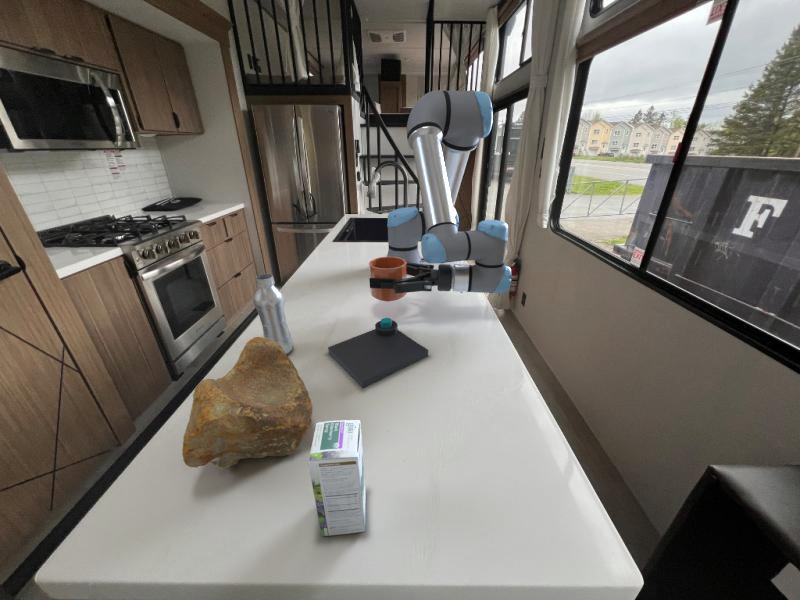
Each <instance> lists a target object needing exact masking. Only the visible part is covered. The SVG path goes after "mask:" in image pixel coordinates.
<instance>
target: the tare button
mask: <svg viewBox="0 0 800 600" xmlns="http://www.w3.org/2000/svg"><path fill="white" fill-rule="evenodd" d="M392 320H393V319H391V318H390V317H383V318H381V319H380V321H381V328H385V329H386V328H390V327H392Z"/></svg>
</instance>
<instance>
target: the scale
mask: <svg viewBox="0 0 800 600" xmlns="http://www.w3.org/2000/svg"><path fill="white" fill-rule="evenodd" d="M391 320H392V327H390V328H386V329H385V328H381V320H379V321H377V322H376V323H375V324H374V329H372V330H369V331H366V332H364V333H361V334H359V335H356V336H353V337H350V338H349V339H346V340H343V341H340V342H337V343H336V344H333V345H331V346H328V347H327V351H328V355H329V356H330V357H331V358H332V359H333V360H334V361H335V362H336V363H337V364H338V365H339V366H340V367H341V368H342V369H343V370H344V371H345V372H346V373H347V374H348V375H349V376H350V377H351V378H352V379H353V380H354V381H355V382H356V383H357V384H358V385H359V386H360V387H361V388H362V389H363V390H364V389H365V388H368V387H369V386H373V384H375V383H378V382H379V381H382V380H383V379H386V378H388V377H389V376H392V375H394V374H396V373H398V372H400V371H402V370H403V369H406V368H408V367H410V366H411V365H414V364H416V363H418V362H420V361H421V360H424V359H426V358H428V357H429V349H427V348H426V347H425V346H423V345H421V344H420V343H418V342H417V341H416V340H414V339H413V338H411V337H410V336H408V335H406V334H405V333H404V332H402V331H400V330H399V329H398V326H399V325H398V323H397V322H396V321H395V320H393V319H391Z"/></svg>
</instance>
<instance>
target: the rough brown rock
mask: <svg viewBox="0 0 800 600" xmlns="http://www.w3.org/2000/svg"><path fill="white" fill-rule="evenodd" d="M299 374H300V373H299V372H298V370H297V368H296V366H295V364H294V363H293V361H292V360H291V358H289V356H288V355H287V354H286V353H285V352H284V350H283V349H282V347H281V346H280V345H279V344H278V343H277V342H274V341H272V340H270V339H269V338H264V336H255V337H253V338H251V339H249V340H248V341H247V342H246V343H245V345H244V346H243V349H242V350H241V353H240V354H239V357H238V360H237V362H236V363H235V364H234V365H233V367H232V368H231V370H229V371H228V372H227V373H226V374H225V375H223V376H222V377H219V378H216V379H213V378H206V379H204V380H202V381H200V382H199V383H198V384H197V385H196V386H195V388H194V390H193V394H192V405H191V408H190V414H189V420H188V422H187V425H186V428H185V432H184V435H183V440H182V449H181V450H182V451H181V452H182V459H183V462H184V464H185V465H186V466H187V467H189V468H194V469H195V468H199V467H203V466H206V465H208V464H209V463H211V464H213V465H216V466H218V468H220V469H222V470H224V469H227V468H229V467H231V466H234V465H237V464H238V463H239V462H240V460H245V459H250V458H253V459H262V458H265V457H266V456H267V457H268V456H269V457H284V456H285V457H286V456H291V455H292V454H293V453H294V452H296V450H297V449H298V448H299V446H300V445H301V444H302V443H301V442H302V439H303V437H304V436H305V435H306V434H307V431H308V430H309V428H310V427H311V425H312V420H313V419H312V418H313V403H312V400H311V396H310V393H309V391H308V390H307V388H306V385H305V383H304V381H303V379H302V377H301V376H300V375H299Z"/></svg>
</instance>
